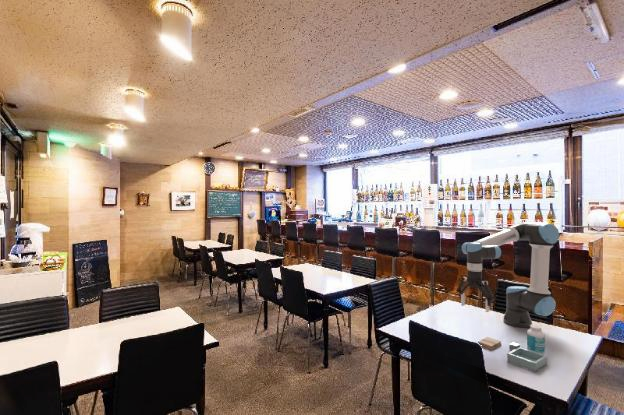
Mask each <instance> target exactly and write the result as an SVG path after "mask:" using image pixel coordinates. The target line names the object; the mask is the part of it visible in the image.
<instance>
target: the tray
mask: <svg viewBox="0 0 624 415" xmlns="http://www.w3.org/2000/svg"><path fill="white" fill-rule="evenodd" d="M506 354H507V356H506V358H507V359H506V361H507V362H508V363H510V364H512V365H516V366H518V367H521V368H523V369H526V370H528V371H531V372H532V373H533V372H534V373H537V372H539V371H540V370H541V369H543V368H544V367H546V366H547V365H548V356H547V355H542V354H539V353H536V352H533V351H530V350H527V349H526V348H523V347H521V346H520V347H518V348H516V349H514V350H512V351H510V350H509V352H507V353H506Z"/></svg>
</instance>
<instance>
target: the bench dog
mask: <svg viewBox="0 0 624 415" xmlns="http://www.w3.org/2000/svg"><path fill="white" fill-rule="evenodd" d="M518 347H521V344H519V343H517V342H514V341H512V342H511V343H509V352H510V351H512V350H514V349H516V348H518Z"/></svg>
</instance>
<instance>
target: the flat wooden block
mask: <svg viewBox="0 0 624 415" xmlns="http://www.w3.org/2000/svg"><path fill="white" fill-rule="evenodd" d="M478 343H479V344H480V345H482V348H484V349H488V350H489V351H493V350H495V349H497V348H498V347H500V346H502V344H501V343H502V342H501V340H498V339H495V338H492V337H489V336H487V337H485V338H482V339H480V340H479V341H477V344H478Z"/></svg>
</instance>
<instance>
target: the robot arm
mask: <svg viewBox="0 0 624 415" xmlns="http://www.w3.org/2000/svg"><path fill="white" fill-rule="evenodd" d="M559 232H560V231H559V229H558V228H557V226H555V225H554V224H553V223H550V222H536V221H535V222H534V221H523V222H520V223H516V224H513V225H511V226H507V228H506V229H505V230H502V231H499V232H496V233H494V234H492V235H489V236H486V237H483V238H481V239H478V240H474V241H473V242H471V241H470V242H469V241H468V242H467V241H466V242H464V243H463V244H462V245H461V252H462V253H463V254H464V255H466V269H467V270H466V276H467V277H466V276H463V277H461V280H460V283H459V284H458V286H457V288H456V293H458V294H459V300H460V305H461V306H462V307H464V306H465V305H466V294H465V292H466V291H467V290H468V289H469V288H470V287H472V288H475V289H478V290H480V292H481V293H482V295H483V296H484V297H485V313H489V312H490V307H491V306H492V301H493V300H495V299H496V297H495V295H494V293H493V290H492V289H491V286H490V284H489V281H488V280H483V260H495V259H499V258H500V257H501V255H502V250H501V248H500V247H501V246H503V245H505V244H508V243H510V242H513V243H514V242H518V241H528V242H529V243H528V245H529V246H530V247H531V260H530V263H531V264H530V277H529V278H530V280H529V282H530V283H529V284H530V285H529V287H526V286H520V285H519V286H518V285H515V286H508V287H507V288H506V293H505V295H506V296H505V300H506V311H505V313H504V316H503V323H505V324H506V325H509V326H513V327H517V328H530V325H533V321H532V319H531V316H530V313H534V314H535V315H538V316H542V317H547V316H549V315H552V313H554V311H555V309H556V304H557V303H556V301H555V299H554V298H553V297H552V292H551V291H550V290H549V272H550V251H551V249H552V248H553V247H554V244H556V243H558V240H559V238H560V233H559ZM466 282H467V284H466ZM464 285H465V286H464ZM483 285H484V286H483ZM529 312H530V313H529Z"/></svg>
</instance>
